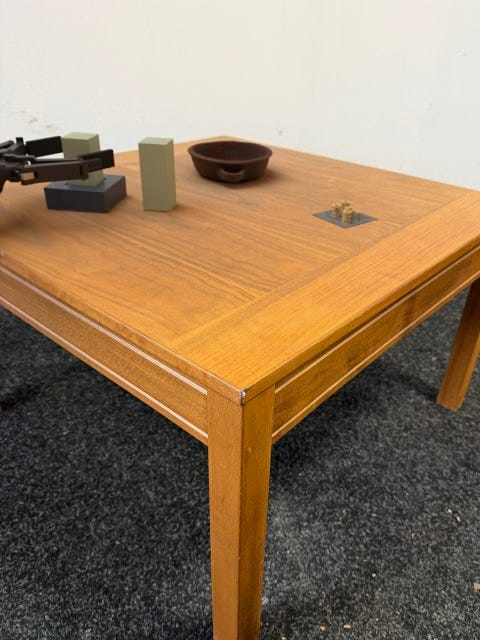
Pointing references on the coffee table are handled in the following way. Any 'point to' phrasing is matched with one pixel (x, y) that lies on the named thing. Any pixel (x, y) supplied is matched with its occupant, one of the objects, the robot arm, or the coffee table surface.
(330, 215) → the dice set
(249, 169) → the dish
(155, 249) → the coffee table surface
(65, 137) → the tall olive green block
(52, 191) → the socket block
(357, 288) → the coffee table surface
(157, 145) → the standing block
